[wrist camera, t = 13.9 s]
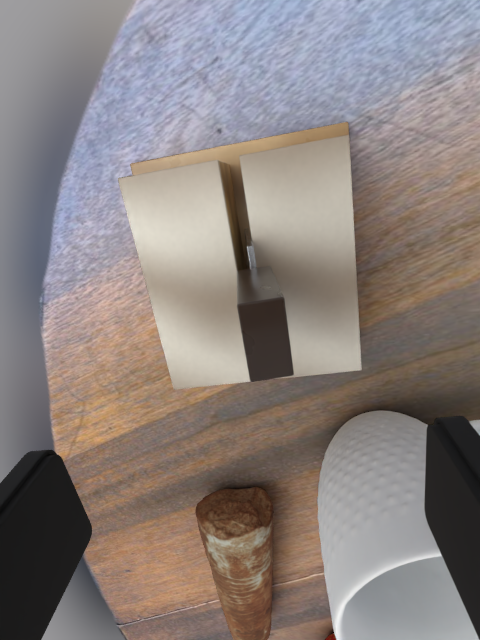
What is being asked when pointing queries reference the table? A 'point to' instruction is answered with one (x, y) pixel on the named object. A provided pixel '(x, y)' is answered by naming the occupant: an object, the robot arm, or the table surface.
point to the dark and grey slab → (263, 321)
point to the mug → (384, 536)
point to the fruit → (331, 637)
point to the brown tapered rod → (240, 557)
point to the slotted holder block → (231, 251)
